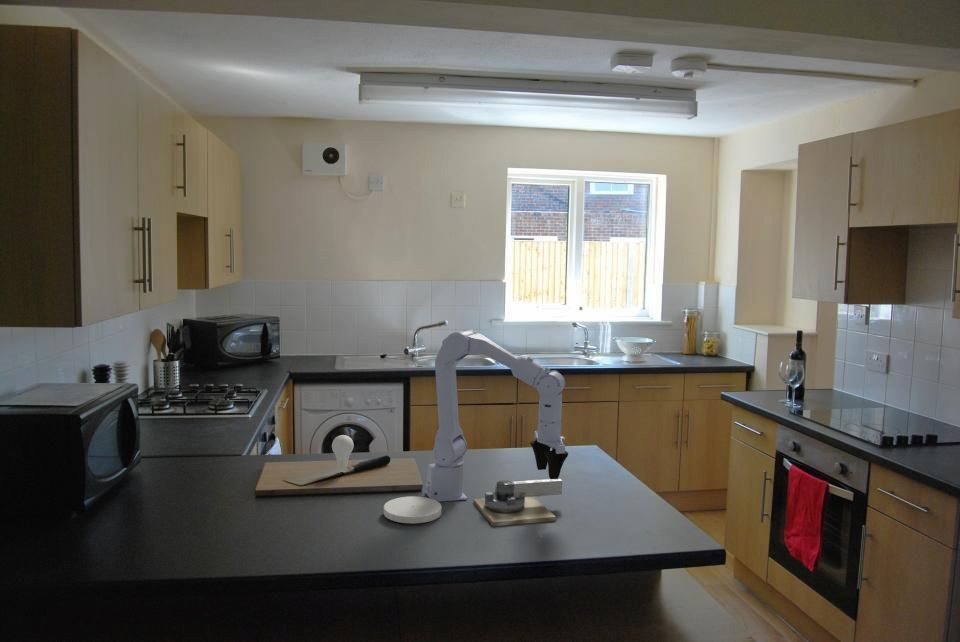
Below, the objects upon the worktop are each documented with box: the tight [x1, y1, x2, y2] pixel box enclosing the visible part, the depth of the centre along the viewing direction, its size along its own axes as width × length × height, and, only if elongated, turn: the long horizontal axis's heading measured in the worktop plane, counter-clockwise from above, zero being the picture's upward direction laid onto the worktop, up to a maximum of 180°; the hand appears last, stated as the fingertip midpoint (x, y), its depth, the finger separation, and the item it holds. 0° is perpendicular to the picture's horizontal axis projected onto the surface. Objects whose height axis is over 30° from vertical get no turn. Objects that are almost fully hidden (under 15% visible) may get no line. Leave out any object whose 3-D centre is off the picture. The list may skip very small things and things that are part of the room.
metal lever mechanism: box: [484, 477, 563, 513], centre depth 177 cm, size 20×10×6 cm, turn 107°
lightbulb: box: [331, 434, 355, 469], centre depth 201 cm, size 6×6×11 cm
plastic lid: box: [383, 495, 443, 524], centre depth 171 cm, size 14×14×2 cm
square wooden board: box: [473, 496, 557, 527], centre depth 176 cm, size 16×17×1 cm
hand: (547, 474), depth 175 cm, fingers open, 7 cm apart
